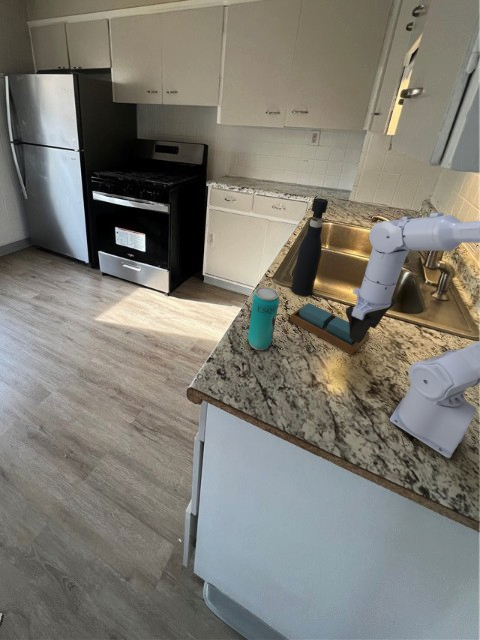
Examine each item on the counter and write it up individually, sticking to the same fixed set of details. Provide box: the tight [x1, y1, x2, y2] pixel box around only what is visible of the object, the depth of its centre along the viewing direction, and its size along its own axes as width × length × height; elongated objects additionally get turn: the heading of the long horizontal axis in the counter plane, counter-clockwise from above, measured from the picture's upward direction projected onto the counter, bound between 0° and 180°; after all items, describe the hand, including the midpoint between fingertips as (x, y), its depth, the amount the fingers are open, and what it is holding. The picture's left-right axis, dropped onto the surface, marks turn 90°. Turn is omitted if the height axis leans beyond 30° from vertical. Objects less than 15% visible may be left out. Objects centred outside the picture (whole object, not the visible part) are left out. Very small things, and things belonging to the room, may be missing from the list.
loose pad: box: [326, 316, 355, 345], centre depth 80 cm, size 6×4×3 cm
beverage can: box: [247, 286, 280, 351], centre depth 74 cm, size 6×6×15 cm
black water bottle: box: [291, 197, 329, 297], centre depth 94 cm, size 6×6×30 cm
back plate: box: [289, 304, 371, 356], centre depth 83 cm, size 17×9×2 cm, turn 41°
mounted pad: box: [299, 302, 333, 329], centre depth 85 cm, size 7×4×3 cm, turn 41°
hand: (362, 332), depth 68 cm, fingers open, 7 cm apart
